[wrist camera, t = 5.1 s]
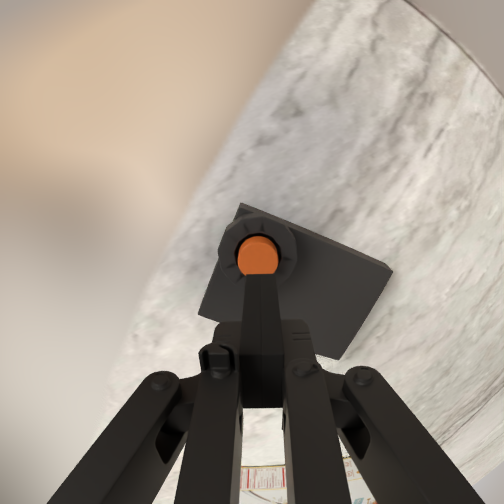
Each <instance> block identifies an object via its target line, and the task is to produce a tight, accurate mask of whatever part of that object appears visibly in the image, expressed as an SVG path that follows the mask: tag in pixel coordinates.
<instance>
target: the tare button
mask: <svg viewBox="0 0 504 504" xmlns="http://www.w3.org/2000/svg"><path fill="white" fill-rule="evenodd" d="M238 266H239V269H240V270H241V272H242V273H243V274H244V275H245V276H246V274H273V273H274V272H275V270H276V269H277V266H278V255H277V250H276V247H275V245H274V244H273V242H272V241H270V240H269V239H267V238H265V237H262V236H254V237H251V238H249V239H247V240H246V241H244V242H243V244H242V245H241V247H240V249H239V255H238Z"/></svg>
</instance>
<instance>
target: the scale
mask: <svg viewBox="0 0 504 504" xmlns="http://www.w3.org/2000/svg"><path fill="white" fill-rule="evenodd" d="M254 236H262V237H265V238H267V239H269V240H270V241H272V242H273V244H274V245H275V247H276V250H277V255H278V266H277V269H276V270H275V272H274V273H273V274H275V275H276V283H277V292H278V300H279V309H280V317H281V320H285V319H303V320H304V321H305V322H306V323H307V324H308V327H309V331H310V335H311V340H312V343H313V347H314V351H315V354H318V355H321V356H325V357H328V358H332V359H335V360H339V359H340V358H341V356H342V355H343V353H344V352H345V350H346V349H347V347H348V346H349V344H350V343H351V341H352V340H353V338H354V337H355V335H356V334H357V332H358V330H359V329H360V327H361V326H362V324H363V323H364V321H365V319H366V318H367V316H368V314H369V313H370V311H371V309H372V308H373V306H374V304H375V303H376V301H377V299H378V298H379V296H380V294H381V293H382V291H383V289H384V287H385V286H386V284H387V282H388V280H389V278H390V277H391V275H392V273H393V271H392V270H391V269H390V268H389V267H388V266H387V265H386V264H385V263H383V262H381V261H379V260H376V259H374V258H372V257H370V256H367V255H365V254H363V253H361V252H358V251H356V250H354V249H352V248H349V247H347V246H345V245H342V244H340V243H338V242H336V241H333V240H331V239H329V238H326V237H324V236H322V235H319V234H317V233H314V232H312V231H310V230H307V229H305V228H303V227H300V226H298V225H295V224H293V223H291V222H288V221H286V220H283V219H281V218H278V217H276V216H273V215H271V214H268V213H266V212H264V211H261V210H259V209H256V208H254V207H251V206H248V205H246V204H243V203H240V205H239V208H238V210H237V213H236V215H235V218H234V220H233V222H232V223H231V224H229V225H228V226H227V227H226V230H225V232H224V235H223V237H222V240H221V242H220V245H219V248H218V256H219V258H218V261H217V263H216V266H215V269H214V271H213V274H212V276H211V279H210V282H209V284H208V287H207V289H206V292H205V295H204V297H203V300H202V303H201V305H200V309H199V312H198V315H200V316H203V317H206V318H208V319H211V320H214V321H217V322H219V323H220V322H221V321H242V314H243V303H244V291H245V280H246V276H245V275H244V274H243V273H242V272H241V270H240V269H239V266H238V255H239V249H240V247H241V245H242V244H243V242H244V241H246V240H247V239H249V238H251V237H254Z"/></svg>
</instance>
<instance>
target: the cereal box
mask: <svg viewBox="0 0 504 504" xmlns="http://www.w3.org/2000/svg"><path fill="white" fill-rule="evenodd" d="M343 461H344V466H345V471H346V476H347V481H348V486H349V491H350V496H351V502H352V504H377V502H376V501H375V499H374V497H373V495H372V494H371V492H370V490H369V488H368V487H367V485H366V483H365V481H364V480H363V478H362V476H361V474H360V473H359V471H358V469H357V467H356V466H355V464H354V462H353V460H352V459H351V457H350V458H344V459H343ZM239 504H287V487H286V468H285V465H284V466H267V467H241V476H240V496H239Z"/></svg>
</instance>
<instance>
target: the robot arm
mask: <svg viewBox="0 0 504 504" xmlns="http://www.w3.org/2000/svg"><path fill="white" fill-rule="evenodd" d="M198 354H199V360H200V366H201V373H200V374H198V375H196V376H193V377H189V378H184V379H179V378H178V377H177V375H176V374H174V373H172V372H169V371H159V372H154V373H152V374H150V375H148V376H147V377H146V378H145V379H144V380H143V382H142V383H141V384H140V385H139V387H138V388H137V389H136V390H135V392H134V393H133V394H132V395H131V397H130V398H129V399H128V400H127V402H126V403H125V404H124V406H123V407H122V408H121V409H120V411H119V412H118V413H117V414H116V416H115V417H114V418H113V419H112V421H111V422H110V423H109V425H108V426H107V427H106V428H105V430H104V431H103V432H102V433H101V435H100V436H99V437H98V439H97V440H96V441H95V442H94V444H93V445H92V446H91V447H90V449H89V450H88V451H87V453H86V454H85V455H84V456H83V458H82V459H81V460H80V461H79V463H78V464H77V465H76V467H75V468H74V469H73V470H72V472H71V473H70V474H69V476H68V477H67V478H66V479H65V481H64V482H63V483H62V484H61V486H60V487H59V488H58V490H57V491H56V492H55V494H54V495H53V496H52V497H51V499H50V500H49V501H48V502H47V504H152V502H153V501H154V499H155V497H156V495H157V494H158V492H159V490H160V488H161V487H162V485H163V483H164V481H165V479H166V478H167V476H168V474H169V472H170V470H171V469H172V467H173V465H174V463H175V461H176V460H177V458H178V456H179V454H180V452H181V450H182V449H183V447H184V445H185V443H186V445H185V450H184V455H183V460H182V465H181V470H180V475H179V480H178V485H177V490H176V495H175V500H174V504H239V496H240V476H241V456H242V436H243V408H283V417H282V430H283V435H284V451H285V468H286V487H287V504H352V502H351V496H350V491H349V486H348V481H347V476H346V471H345V466H344V461H343V457H342V452H341V447H340V443H339V438H338V436H339V437H340V439H341V441H342V443H343V444H344V446H345V448H346V450H347V452H348V453H349V455H350V457H351V459H352V460H353V462H354V464H355V466H356V467H357V469H358V471H359V473H360V474H361V476H362V478H363V480H364V481H365V483H366V485H367V487H368V488H369V490H370V492H371V494H372V495H373V497H374V499H375V501H376V502H377V504H485V503H484V502H483V500H482V499H481V498H480V497H479V495H478V494H477V493H476V491H475V490H474V489H473V487H472V486H471V485H470V484H469V482H468V481H467V480H466V479H465V477H464V476H463V475H462V473H461V472H460V471H459V470H458V468H457V467H456V466H455V465H454V463H453V462H452V461H451V460H450V458H449V457H448V456H447V455H446V453H445V452H444V451H443V450H442V448H441V447H440V446H439V445H438V443H437V442H436V441H435V440H434V438H433V437H432V436H431V435H430V434H429V432H428V431H427V430H426V429H425V427H424V426H423V425H422V424H421V422H420V421H419V420H418V419H417V418H416V416H415V415H414V414H413V413H412V411H411V410H410V409H409V408H408V407H407V405H406V404H405V403H404V402H403V401H402V399H401V398H400V397H399V396H398V394H397V393H396V392H395V391H394V390H393V388H392V387H391V386H390V385H389V384H388V382H387V381H386V380H385V379H384V378H383V376H382V375H381V374H380V373H379V372H378V371H377V370H375V369H373V368H371V367H368V366H356V367H353V368H351V369H349V370H348V371H347V372H346V374H345V375H342V374H335V373H331V372H328V371H326V370H324V369H322V367H321V365H320V364H319V363H318V362H317V360H316V356H315V351H314V347H313V343H312V340H311V335H310V331H309V327H308V324H307V323H306V322H305V321H304V320H303V319H285V320H281V317H280V309H279V300H278V292H277V283H276V275H275V274H246V280H245V291H244V303H243V314H242V321H221V322H220V323H219V324H218V325H217V326H216V328H215V331H214V337H213V340H212V343H210V344H208V345H205V346H204V347H203V348H201V349H200V351H199V353H198Z"/></svg>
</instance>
